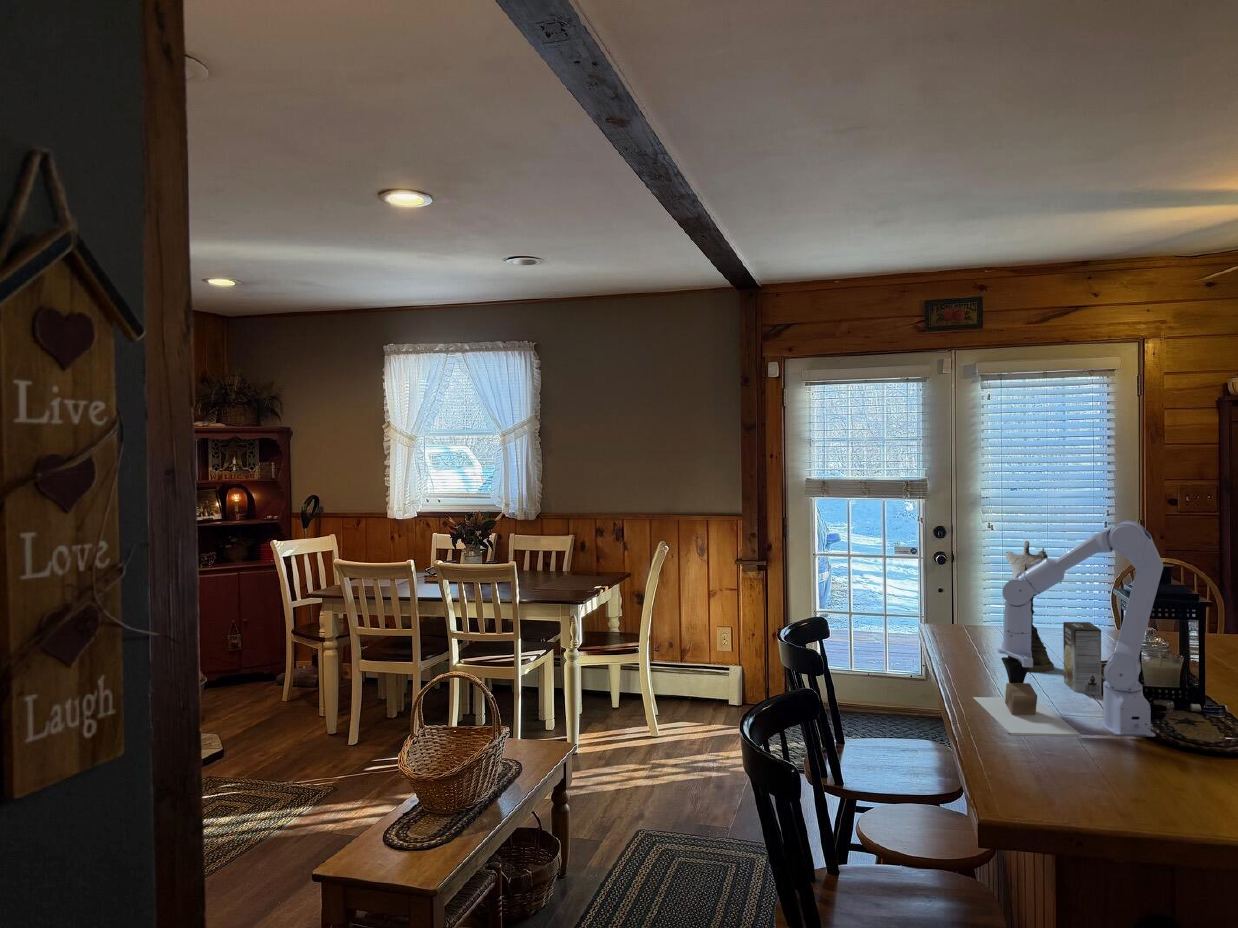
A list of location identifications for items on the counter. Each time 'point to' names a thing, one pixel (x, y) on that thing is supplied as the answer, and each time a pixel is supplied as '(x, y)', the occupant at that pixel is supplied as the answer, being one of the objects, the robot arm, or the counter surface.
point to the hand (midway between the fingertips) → (1016, 690)
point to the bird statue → (1038, 650)
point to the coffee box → (1082, 657)
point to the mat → (1027, 720)
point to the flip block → (1020, 699)
